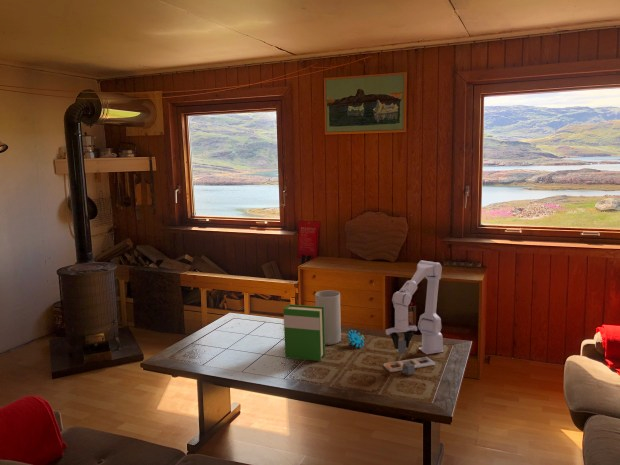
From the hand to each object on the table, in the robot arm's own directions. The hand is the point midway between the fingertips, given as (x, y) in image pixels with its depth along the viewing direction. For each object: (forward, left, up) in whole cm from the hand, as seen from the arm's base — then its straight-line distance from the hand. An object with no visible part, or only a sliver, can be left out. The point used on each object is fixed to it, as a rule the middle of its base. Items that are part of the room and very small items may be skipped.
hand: (401, 347), depth 228 cm
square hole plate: (-4, 0, -9) cm, 10 cm away
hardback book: (+37, -27, -9) cm, 47 cm away
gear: (+9, -31, -9) cm, 33 cm away
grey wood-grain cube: (0, +7, -9) cm, 11 cm away
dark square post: (0, 0, -2) cm, 2 cm away
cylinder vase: (+20, -42, -9) cm, 47 cm away
